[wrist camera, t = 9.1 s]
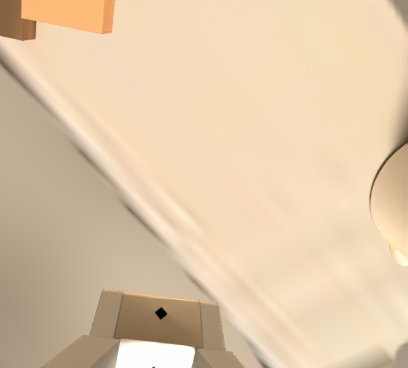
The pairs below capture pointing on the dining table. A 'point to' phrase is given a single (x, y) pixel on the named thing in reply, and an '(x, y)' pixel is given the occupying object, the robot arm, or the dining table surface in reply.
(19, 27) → the walnut board
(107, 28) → the orange block
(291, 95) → the dining table surface
